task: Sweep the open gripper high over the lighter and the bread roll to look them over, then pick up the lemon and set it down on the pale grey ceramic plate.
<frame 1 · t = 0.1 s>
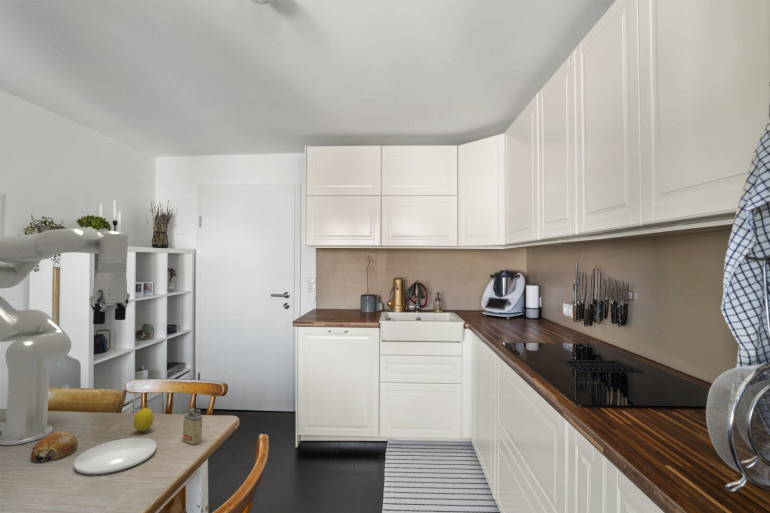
hand: (109, 321, 119), 37 cm above the table, tool pointing down, fingers open, 9 cm apart
bread roll: (54, 455, 107), on the table
plate: (117, 457, 106), on the table
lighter: (192, 441, 117), on the table
lemon: (143, 432, 122), on the table
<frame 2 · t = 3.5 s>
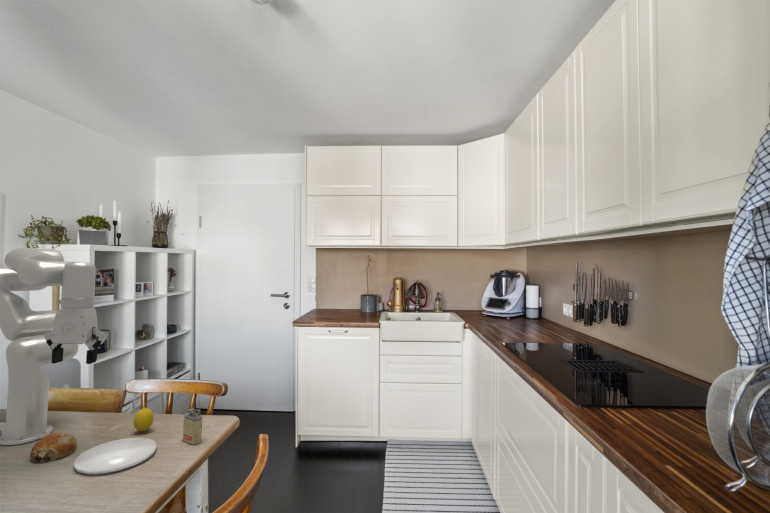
hand: (74, 362, 108), 26 cm above the table, tool pointing down, fingers open, 9 cm apart
nothing on the table moved.
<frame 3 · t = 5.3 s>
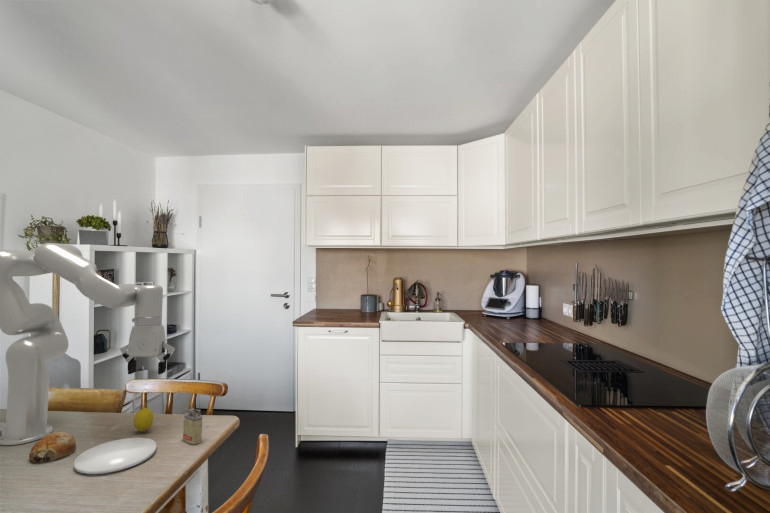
hand: (146, 373, 123), 19 cm above the table, tool pointing down, fingers open, 9 cm apart
nothing on the table moved.
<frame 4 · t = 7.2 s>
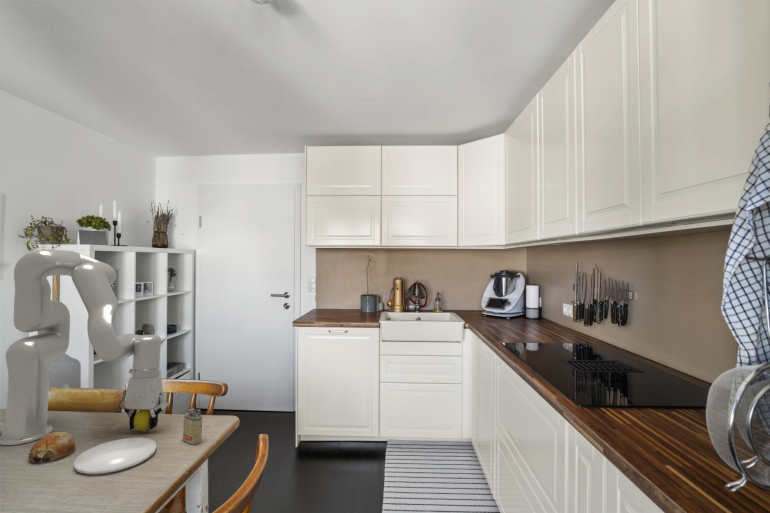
hand: (143, 427, 122), 2 cm above the table, tool pointing down, fingers closed on lemon, 5 cm apart
lemon: (143, 432, 122), on the table, touching gripper
everything else where it was.
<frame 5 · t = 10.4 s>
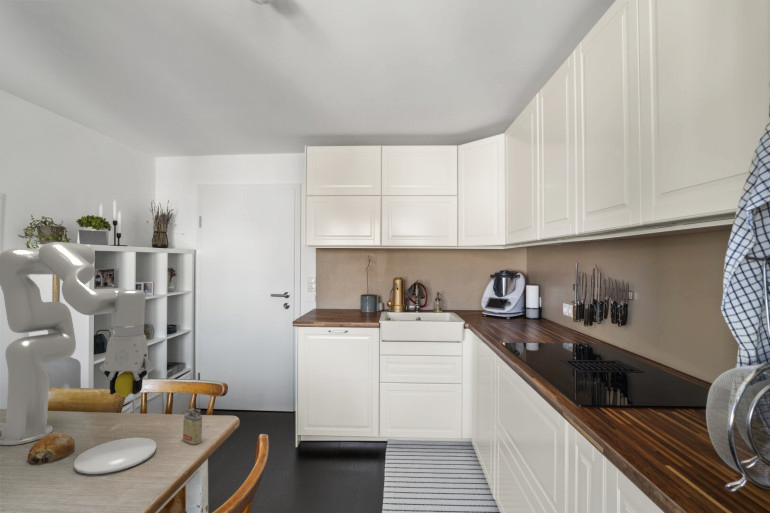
hand: (125, 392, 109), 18 cm above the table, tool pointing down, fingers closed on lemon, 5 cm apart
lemon: (125, 398, 109), point 16 cm above the table, touching gripper
everything else where it was.
when the fingers open (4 cm above the table, at t = 13.6 s): lemon drops 1 cm, resting on plate.
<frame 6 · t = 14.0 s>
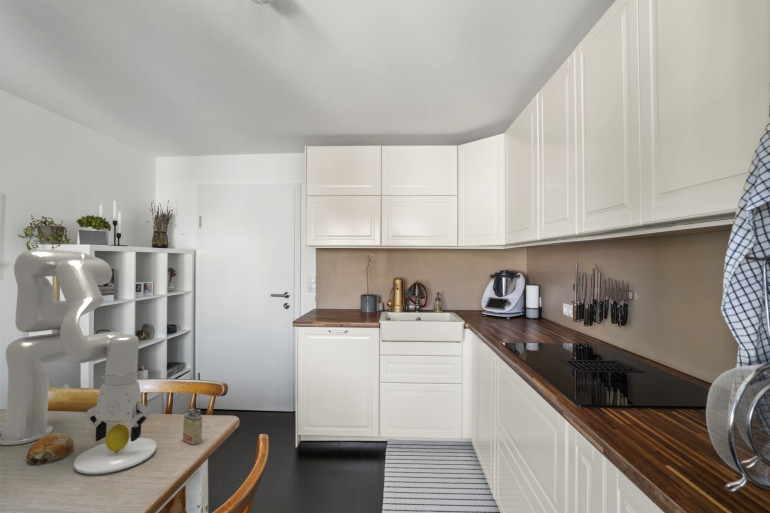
hand: (118, 439, 106), 5 cm above the table, tool pointing down, fingers open, 9 cm apart
lemon: (116, 453, 106), point 1 cm above the table, touching plate
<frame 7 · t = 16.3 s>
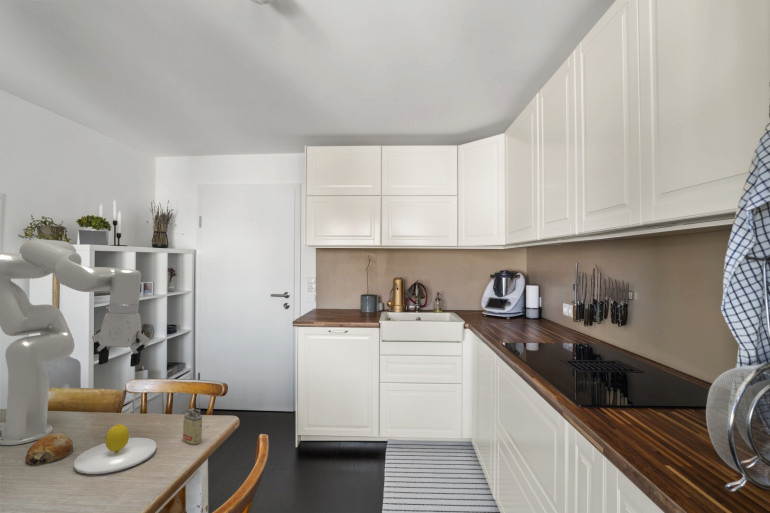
hand: (118, 364, 114), 24 cm above the table, tool pointing down, fingers open, 9 cm apart
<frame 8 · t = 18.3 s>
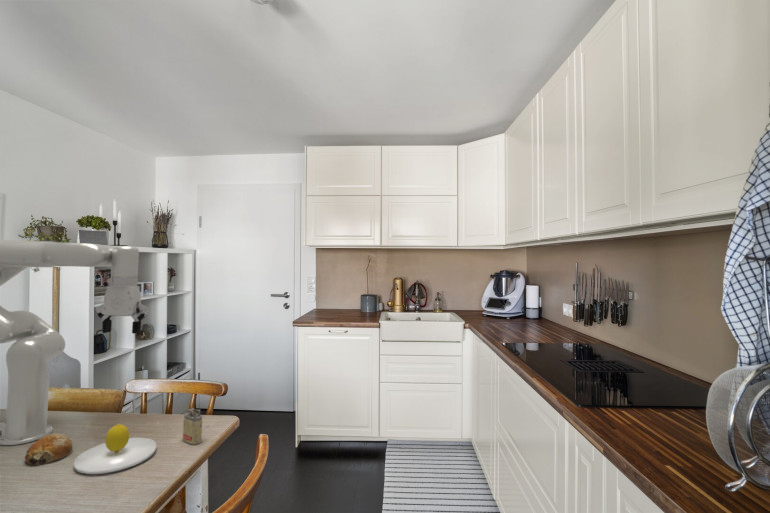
hand: (121, 332, 125), 32 cm above the table, tool pointing down, fingers open, 9 cm apart
at the end: lemon inside the target area on the plate (0.3 cm from its centre), point 1.3 cm above the plate's base; the gripper is holding nothing; bread roll moved 1.7 cm from its start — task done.
